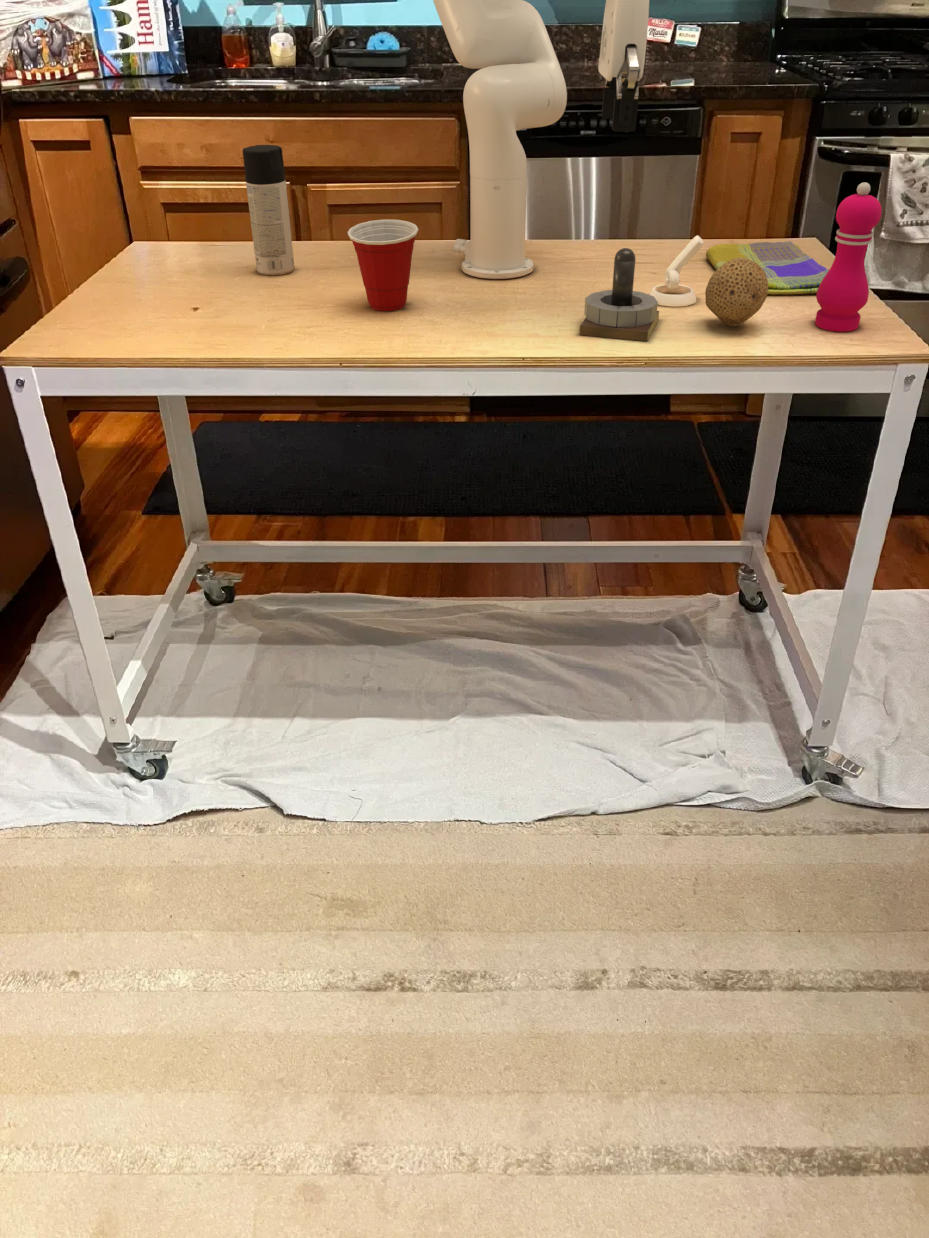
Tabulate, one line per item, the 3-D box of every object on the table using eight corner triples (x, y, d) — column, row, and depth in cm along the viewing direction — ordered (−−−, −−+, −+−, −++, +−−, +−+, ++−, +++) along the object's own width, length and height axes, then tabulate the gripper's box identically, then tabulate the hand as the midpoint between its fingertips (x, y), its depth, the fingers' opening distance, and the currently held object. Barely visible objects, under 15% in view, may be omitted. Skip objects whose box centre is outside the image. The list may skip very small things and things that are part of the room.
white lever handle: (735, 273, 156) (704, 249, 153) (681, 332, 163) (650, 310, 159) (722, 250, 161) (692, 227, 158) (670, 308, 168) (640, 286, 165)
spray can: (302, 269, 179) (290, 146, 168) (277, 278, 175) (263, 152, 163) (274, 264, 182) (260, 143, 171) (248, 273, 178) (232, 149, 166)
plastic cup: (341, 313, 158) (334, 233, 152) (369, 293, 167) (365, 217, 160) (405, 320, 155) (401, 239, 148) (431, 300, 164) (428, 222, 157)
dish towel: (734, 297, 163) (737, 279, 162) (702, 257, 184) (704, 241, 182) (842, 295, 164) (845, 277, 162) (798, 255, 184) (801, 239, 182)
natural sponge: (760, 339, 146) (771, 269, 141) (698, 334, 149) (706, 264, 143) (762, 320, 154) (773, 252, 148) (703, 315, 156) (711, 248, 150)
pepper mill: (854, 336, 147) (885, 190, 136) (805, 328, 150) (831, 184, 139) (867, 322, 152) (898, 180, 141) (819, 315, 155) (845, 175, 144)
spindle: (579, 335, 149) (583, 254, 142) (593, 314, 157) (598, 237, 150) (647, 341, 146) (654, 260, 140) (658, 320, 154) (666, 242, 147)
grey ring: (574, 321, 149) (575, 305, 148) (600, 302, 157) (601, 286, 156) (641, 331, 145) (643, 314, 144) (664, 311, 153) (666, 295, 152)
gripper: (592, -22, 140) (583, 114, 150) (611, -13, 126) (600, 136, 136) (646, -22, 141) (633, 114, 151) (671, -13, 127) (655, 136, 136)
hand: (617, 124), depth 143 cm, fingers open, 9 cm apart
